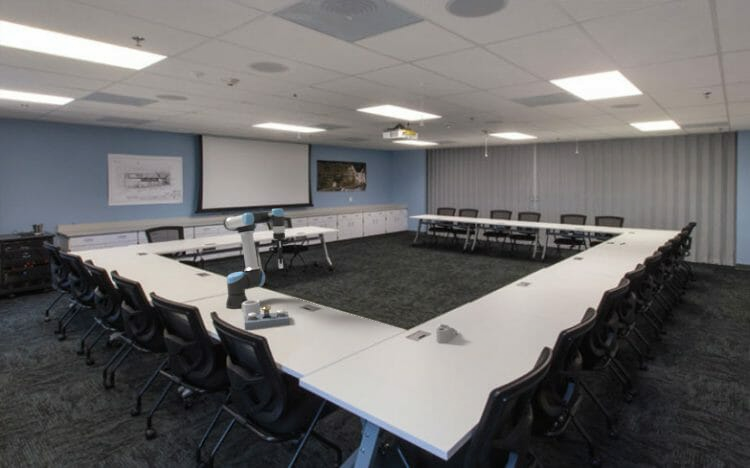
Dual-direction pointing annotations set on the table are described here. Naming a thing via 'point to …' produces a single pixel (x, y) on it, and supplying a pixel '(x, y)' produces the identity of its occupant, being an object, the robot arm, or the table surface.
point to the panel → (266, 321)
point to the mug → (251, 307)
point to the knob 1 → (252, 316)
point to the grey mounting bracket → (445, 333)
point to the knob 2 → (280, 313)
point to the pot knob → (266, 311)
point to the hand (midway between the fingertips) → (280, 268)
